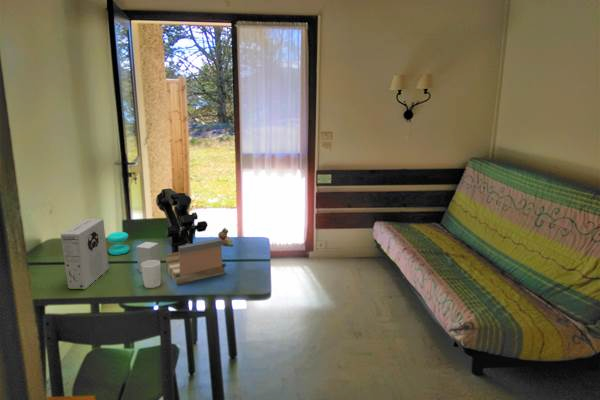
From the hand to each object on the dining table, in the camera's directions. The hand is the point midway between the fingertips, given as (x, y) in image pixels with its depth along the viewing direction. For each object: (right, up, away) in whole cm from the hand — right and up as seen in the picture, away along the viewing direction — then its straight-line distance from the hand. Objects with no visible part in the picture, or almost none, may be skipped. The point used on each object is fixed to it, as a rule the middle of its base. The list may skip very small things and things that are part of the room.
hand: (191, 244), depth 199 cm
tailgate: (+6, -10, -8) cm, 15 cm away
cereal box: (-44, -15, -7) cm, 47 cm away
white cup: (-14, -16, -12) cm, 25 cm away
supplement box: (-20, -12, +3) cm, 24 cm away
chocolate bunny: (+10, -4, +37) cm, 38 cm away
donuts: (-44, -7, +25) cm, 51 cm away
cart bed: (+2, -13, +1) cm, 13 cm away
